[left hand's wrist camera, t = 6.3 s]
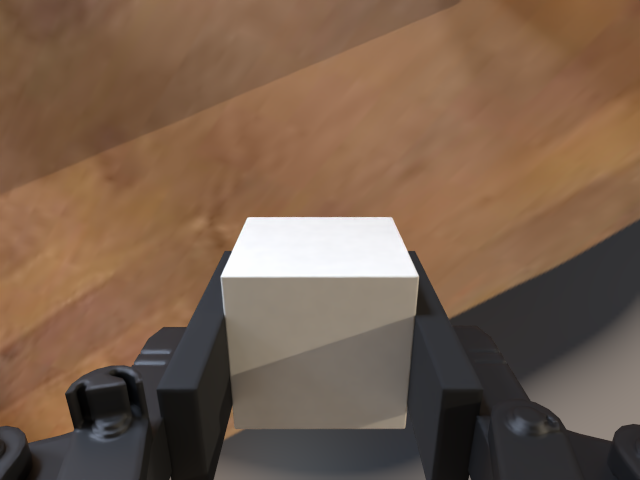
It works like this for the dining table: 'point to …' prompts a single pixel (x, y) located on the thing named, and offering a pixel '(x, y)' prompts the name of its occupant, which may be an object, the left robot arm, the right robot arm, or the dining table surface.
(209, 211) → the dining table surface
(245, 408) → the block
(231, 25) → the dining table surface
